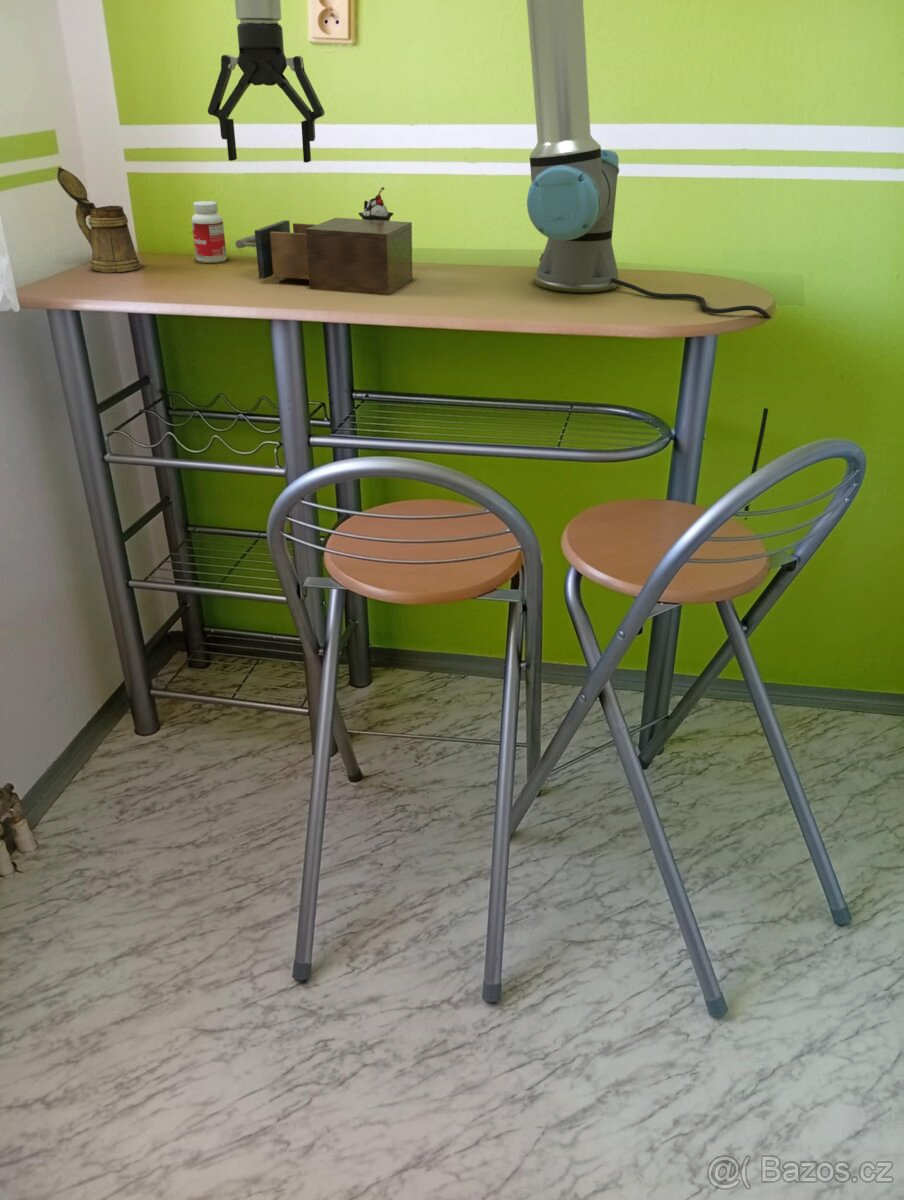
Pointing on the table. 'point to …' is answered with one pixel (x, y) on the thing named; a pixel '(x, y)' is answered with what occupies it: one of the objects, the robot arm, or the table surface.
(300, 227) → the drawer
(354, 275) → the cabinet
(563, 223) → the robot arm
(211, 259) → the pill bottle
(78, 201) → the wooden mug
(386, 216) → the sundae
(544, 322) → the table surface
